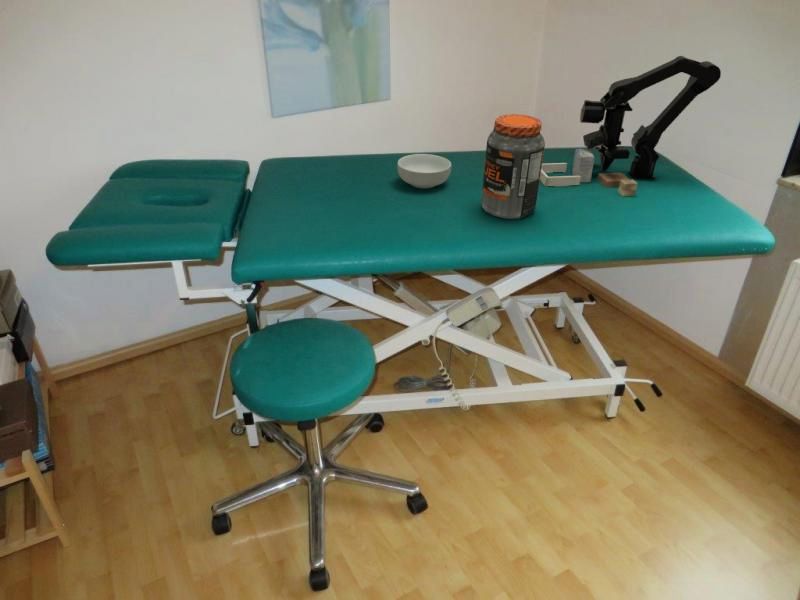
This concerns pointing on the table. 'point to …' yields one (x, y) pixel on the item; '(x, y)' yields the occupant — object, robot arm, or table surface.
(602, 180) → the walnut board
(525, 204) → the supplement tub
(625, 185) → the beech block
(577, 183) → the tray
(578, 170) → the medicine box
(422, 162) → the cereal bowl
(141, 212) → the table surface
